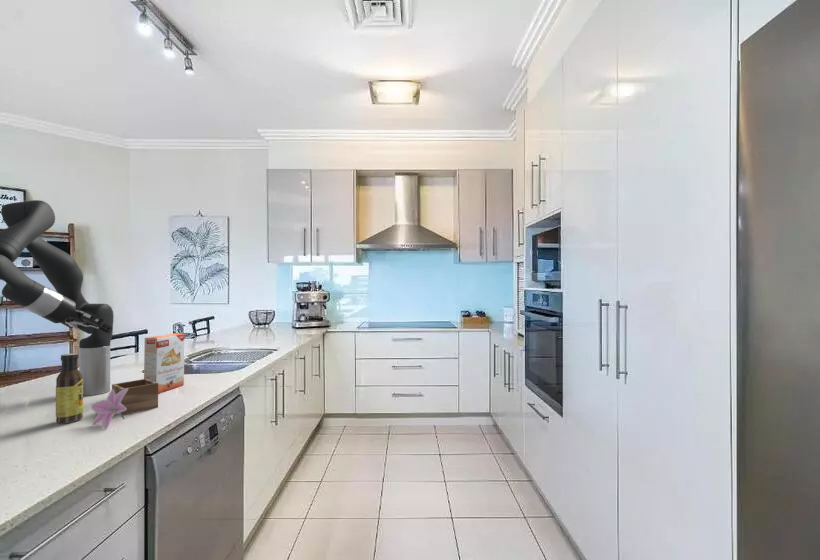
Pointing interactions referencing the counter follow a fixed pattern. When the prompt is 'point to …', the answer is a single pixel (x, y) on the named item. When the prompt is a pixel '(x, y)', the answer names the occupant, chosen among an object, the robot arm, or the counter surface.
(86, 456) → the counter surface
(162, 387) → the cracker box
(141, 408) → the bottle holder
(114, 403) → the lily
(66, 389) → the sauce bottle
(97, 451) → the counter surface
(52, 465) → the counter surface
